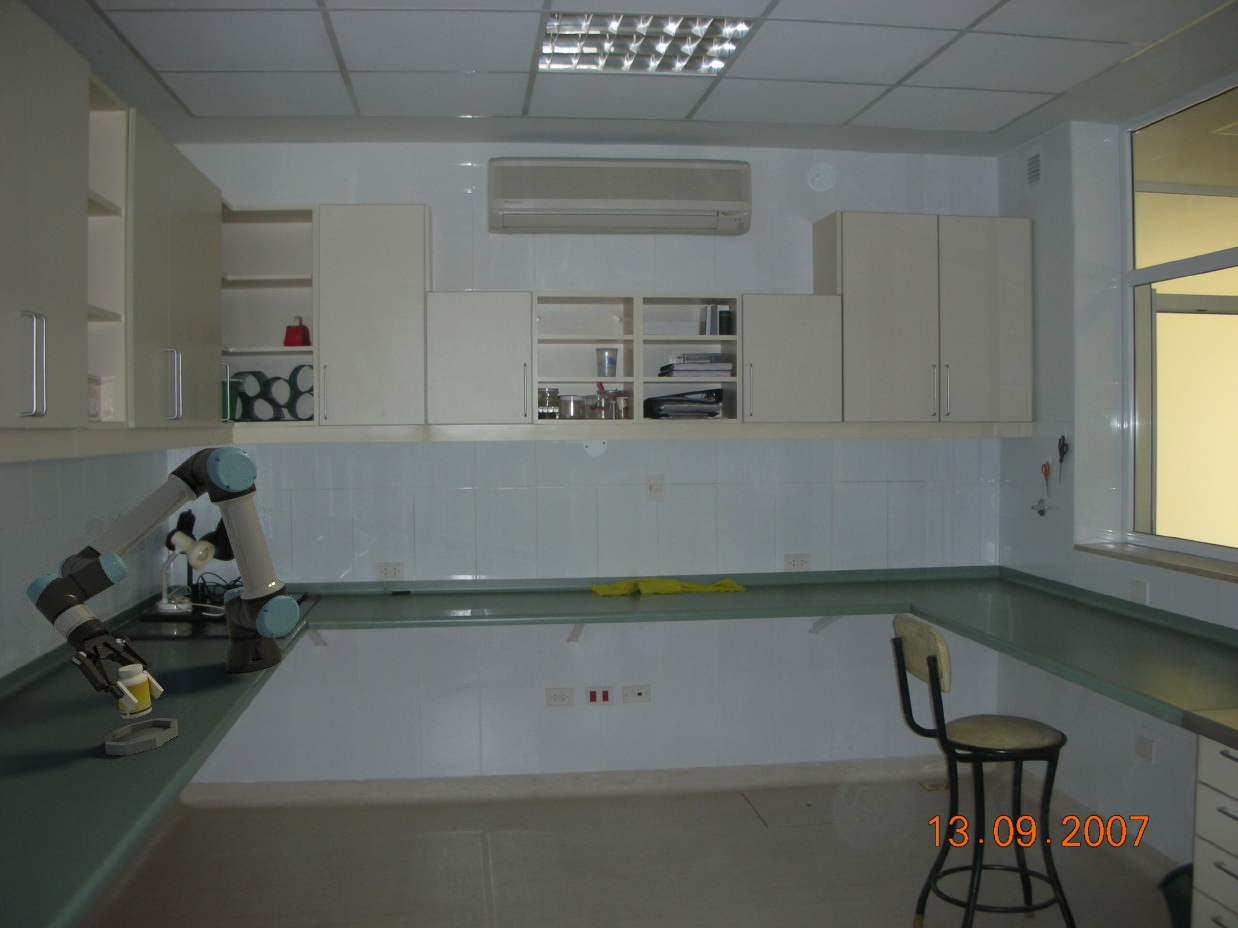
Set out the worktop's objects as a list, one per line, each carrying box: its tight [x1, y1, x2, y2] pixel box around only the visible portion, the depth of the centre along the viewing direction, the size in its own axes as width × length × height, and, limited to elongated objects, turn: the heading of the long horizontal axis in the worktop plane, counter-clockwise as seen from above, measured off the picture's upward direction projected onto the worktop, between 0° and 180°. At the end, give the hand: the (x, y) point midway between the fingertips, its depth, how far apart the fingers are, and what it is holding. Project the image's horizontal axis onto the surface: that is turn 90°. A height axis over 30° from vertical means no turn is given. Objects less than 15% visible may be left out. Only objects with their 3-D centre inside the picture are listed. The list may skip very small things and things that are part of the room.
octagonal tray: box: [104, 717, 179, 757], centre depth 187 cm, size 14×14×2 cm
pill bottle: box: [115, 664, 153, 720], centre depth 185 cm, size 6×6×11 cm
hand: (147, 700), depth 184 cm, fingers closed on pill bottle, 6 cm apart
